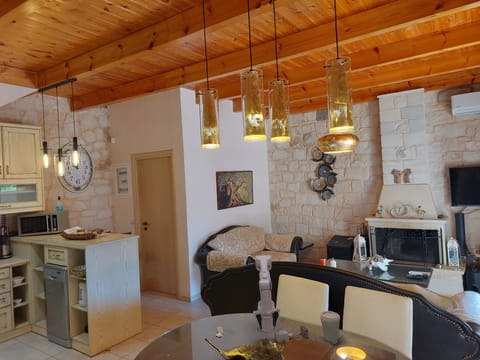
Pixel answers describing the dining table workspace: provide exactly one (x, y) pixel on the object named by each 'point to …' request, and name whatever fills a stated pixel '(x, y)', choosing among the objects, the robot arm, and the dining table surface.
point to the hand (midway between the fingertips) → (267, 327)
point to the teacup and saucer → (219, 331)
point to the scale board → (303, 332)
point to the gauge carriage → (282, 336)
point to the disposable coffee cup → (330, 326)
